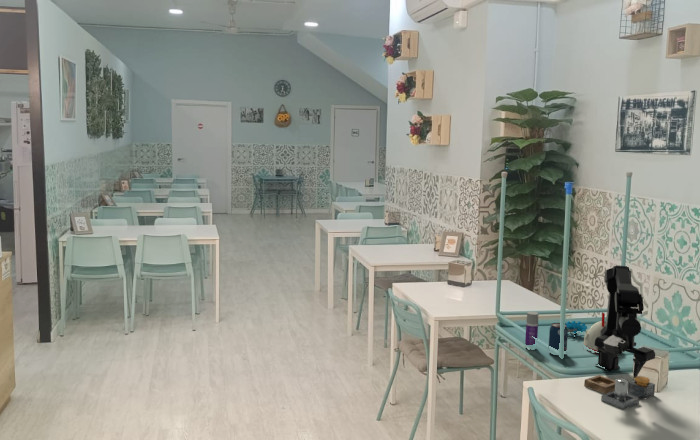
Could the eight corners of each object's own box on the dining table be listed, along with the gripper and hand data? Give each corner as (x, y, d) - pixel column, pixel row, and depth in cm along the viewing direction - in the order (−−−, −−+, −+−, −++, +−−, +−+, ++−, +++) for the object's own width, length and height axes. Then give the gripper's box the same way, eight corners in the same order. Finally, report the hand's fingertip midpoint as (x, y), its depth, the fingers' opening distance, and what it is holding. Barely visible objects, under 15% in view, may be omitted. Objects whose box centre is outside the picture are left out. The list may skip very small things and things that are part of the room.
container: (528, 350, 271) (530, 314, 269) (522, 347, 275) (524, 311, 273) (539, 350, 272) (541, 314, 270) (532, 346, 276) (534, 311, 274)
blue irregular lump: (588, 331, 293) (585, 319, 286) (588, 343, 289) (585, 331, 282) (562, 330, 297) (558, 319, 290) (561, 342, 294) (558, 331, 287)
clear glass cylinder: (611, 401, 222) (613, 379, 221) (618, 398, 224) (619, 377, 223) (621, 405, 219) (623, 383, 218) (628, 402, 221) (630, 381, 220)
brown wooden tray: (584, 385, 235) (584, 379, 235) (598, 381, 240) (599, 374, 239) (605, 394, 228) (605, 387, 228) (619, 388, 233) (620, 382, 233)
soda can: (567, 357, 264) (569, 328, 262) (549, 356, 265) (550, 326, 263) (565, 351, 270) (567, 323, 269) (547, 350, 272) (549, 321, 270)
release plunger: (631, 391, 229) (632, 377, 228) (638, 388, 231) (639, 375, 231) (643, 395, 225) (644, 382, 224) (651, 392, 228) (652, 379, 227)
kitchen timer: (618, 346, 278) (621, 311, 276) (619, 357, 265) (622, 320, 263) (583, 342, 283) (585, 307, 281) (582, 352, 270) (585, 316, 268)
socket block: (601, 400, 223) (601, 389, 222) (634, 388, 233) (635, 377, 233) (623, 409, 216) (624, 397, 215) (657, 396, 227) (658, 385, 226)
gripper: (585, 323, 221) (582, 369, 223) (637, 339, 206) (633, 387, 208) (606, 318, 227) (603, 362, 230) (658, 333, 212) (654, 380, 214)
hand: (622, 372), depth 220 cm, fingers open, 9 cm apart
